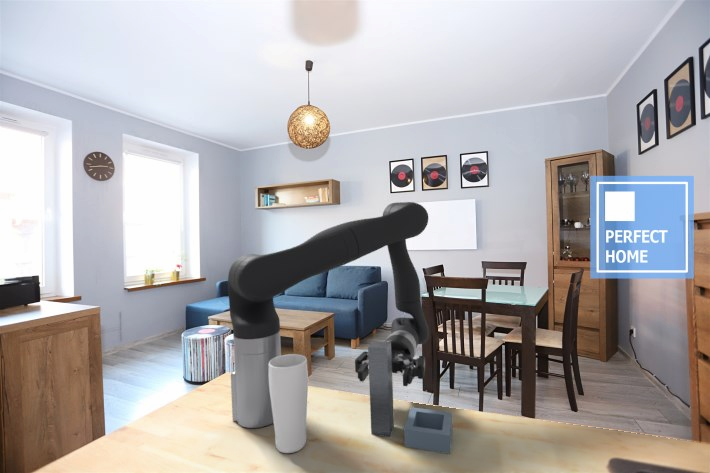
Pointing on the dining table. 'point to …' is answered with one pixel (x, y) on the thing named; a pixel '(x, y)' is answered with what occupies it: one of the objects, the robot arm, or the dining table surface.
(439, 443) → the socket block
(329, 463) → the dining table surface
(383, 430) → the square bit
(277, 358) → the drinking glass
